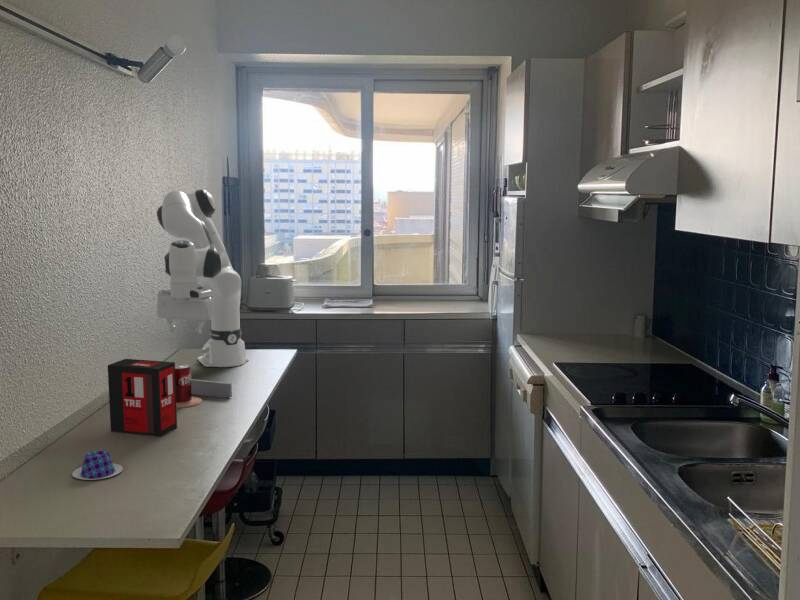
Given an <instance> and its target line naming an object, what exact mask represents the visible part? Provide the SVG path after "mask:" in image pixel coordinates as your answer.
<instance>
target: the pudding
mask: <svg viewBox="0 0 800 600" xmlns="http://www.w3.org/2000/svg"><path fill="white" fill-rule="evenodd" d="M123 470H124V468H123V466H122V465H121V464H117V463H115V462H113V460H112V456H111V454H110V453H109V452H108V451H105V450H95V451H90V452H88V453H86V454H85V455H84V457H83V461H82V466H80V467H79V468H76V469H74V471H73V472H72V473H71V474H72V476H73V477H74V478H75V479H78V480H85V481H87V480H89V481H93V480H95V481H96V480H103V479H107V478H111V477H114V476H115V475H116V476H117V475H118V474H120V473H121V472H122V471H123Z"/></svg>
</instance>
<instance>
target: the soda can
mask: <svg viewBox="0 0 800 600" xmlns="http://www.w3.org/2000/svg"><path fill="white" fill-rule="evenodd" d="M191 379H192V367H191V365H190V364H187V363H177V364H176V363H175V383H176V404H184V403H188V402H190V401H191V400H192V397H193V394H192V388H191Z"/></svg>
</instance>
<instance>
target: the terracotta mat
mask: <svg viewBox="0 0 800 600" xmlns="http://www.w3.org/2000/svg"><path fill="white" fill-rule="evenodd" d="M201 402H203V399H202V398H200V397H198V396H192V400H191V401H190V402H188V403H184V404H176V409H183V408H184V409H185V407H186V408H191V406H192V407H196V406H199V405H200V403H201ZM198 404H199V405H198ZM201 404H202V403H201ZM195 405H196V406H195Z"/></svg>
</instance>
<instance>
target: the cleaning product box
mask: <svg viewBox="0 0 800 600" xmlns="http://www.w3.org/2000/svg"><path fill="white" fill-rule="evenodd" d="M175 364H176V362H173V361H162V360H160V361H158V360H148V359H147V360H146V359H134V358H124V359H121V360H118V361H115V362H112V363H110V364H107V379H108V381H107V382H108V383H107V384H108V400H109V402H108V403H109V422H110V425H109V426H110V432H111V433H118V434H127V433H128V435H129V434H130V435H139V436H140V435H141V436H148V437H150V436H151V437H156V438H157V437H158V438H162V437H163V436H165V435H167V434H168V433H170V431H171V432H172V431H174V430H176V429H177V428H178V415H177V414H178V413H177V408H176V383H175Z"/></svg>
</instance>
